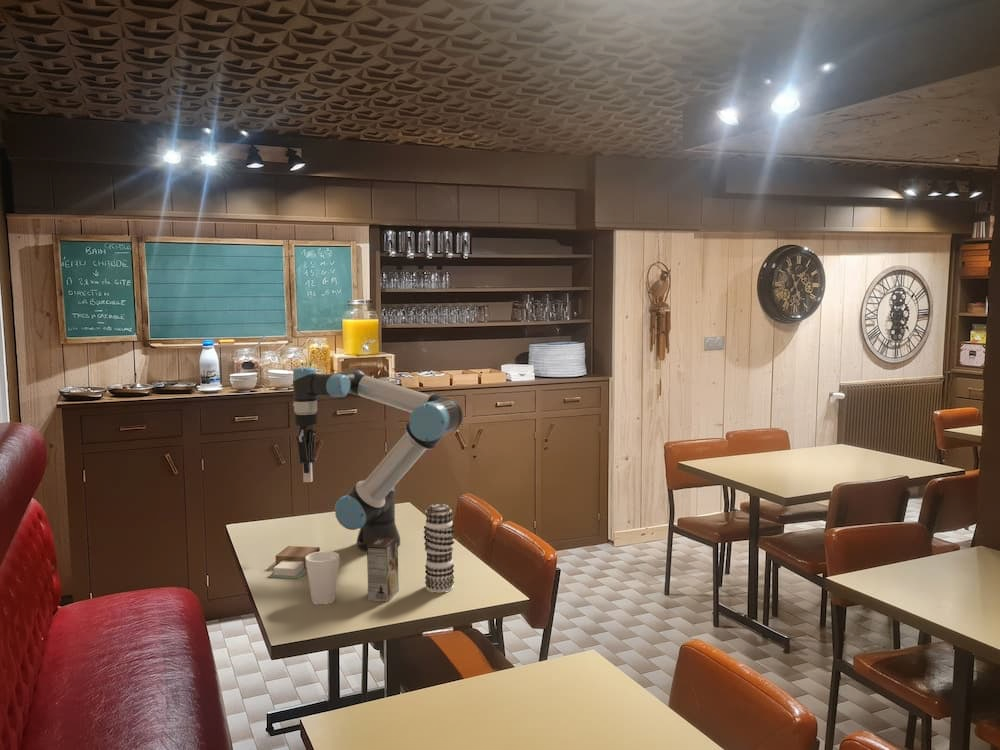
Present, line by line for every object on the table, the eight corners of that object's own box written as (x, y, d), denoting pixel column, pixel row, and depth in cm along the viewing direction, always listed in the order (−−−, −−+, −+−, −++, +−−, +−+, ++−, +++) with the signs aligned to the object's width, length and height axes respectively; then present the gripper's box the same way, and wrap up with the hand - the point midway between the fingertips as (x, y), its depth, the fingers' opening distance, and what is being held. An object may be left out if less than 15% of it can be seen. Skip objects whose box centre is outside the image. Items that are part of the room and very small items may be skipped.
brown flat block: (320, 559, 256) (319, 547, 255) (308, 569, 246) (308, 557, 245) (288, 557, 257) (288, 546, 257) (275, 567, 247) (275, 555, 247)
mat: (309, 569, 245) (309, 568, 245) (299, 579, 237) (299, 577, 237) (279, 568, 247) (279, 567, 247) (268, 577, 239) (268, 576, 238)
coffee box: (378, 588, 229) (377, 536, 228) (399, 590, 228) (398, 537, 226) (367, 600, 220) (366, 546, 219) (388, 602, 219) (387, 547, 217)
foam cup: (310, 609, 214) (309, 563, 213) (303, 598, 222) (301, 554, 221) (344, 603, 218) (343, 558, 217) (335, 592, 226) (334, 549, 225)
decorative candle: (455, 593, 226) (454, 509, 223) (423, 593, 225) (422, 510, 223) (455, 581, 235) (454, 501, 232) (424, 582, 234) (423, 502, 232)
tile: (303, 568, 246) (303, 561, 246) (295, 575, 239) (295, 568, 239) (283, 567, 247) (282, 560, 247) (273, 574, 240) (273, 567, 240)
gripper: (301, 410, 267) (304, 477, 269) (287, 415, 254) (290, 486, 256) (322, 410, 266) (324, 477, 268) (310, 416, 253) (312, 486, 255)
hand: (308, 481), depth 262 cm, fingers closed
